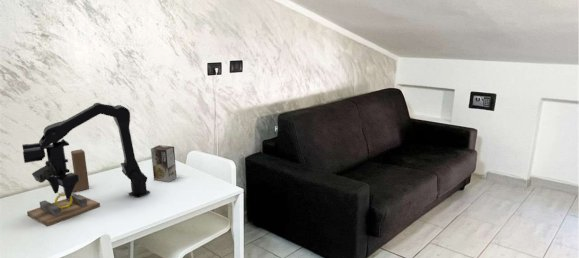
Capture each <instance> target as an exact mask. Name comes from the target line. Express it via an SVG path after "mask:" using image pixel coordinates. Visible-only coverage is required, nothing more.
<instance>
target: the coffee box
mask: <svg viewBox="0 0 579 258" xmlns="http://www.w3.org/2000/svg"><path fill="white" fill-rule="evenodd" d="M150 152H151V154H150V155H151V164H152V165H151V166H152V174H153V181H157V182H158V181H159V182H165V183H170V182H172V181H174V180H176V179H177V165H176V156H175V155H176V153H175V146H173V145H172V146H170V145H161V144H159V145H156V146H154V147H152V148H150Z"/></svg>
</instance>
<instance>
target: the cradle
mask: <svg viewBox="0 0 579 258" xmlns="http://www.w3.org/2000/svg"><path fill="white" fill-rule="evenodd" d="M71 196H72V199H73V201H72V203H71V205H70V206H69V207H65V208H62V209H61V208H60V207H62V206H66V205H68V204H69V203H70V198H68V199H67V198H66V197H65V198H64V199H60V200H57V205H58V206H59V207H58V206H56V205H55V201H54V202H52V203H51V202H50V201H48V200H42V201H39V207H37V208H35V209H34V208H33V209H31V210H27V212H26V214H27V216H28V217H29V218H32V219H34V220H36V221H38V222H39V223H41V224H43V225H44V226H46V227H50V226H52V225H55V224H58V223H61V222H63V221H66V220H68V219H71V218H73V217H77V216H79V215H81V214H84V213H87V212H90V211H92V210H95V209H98V208H100V207H101V204H100V202H99V201H96V200H94V199H91V198H89V197H86V196H84V195H81V194H79V193H78V194H77V193H75V192H73V193H72V194H71Z"/></svg>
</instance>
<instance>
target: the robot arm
mask: <svg viewBox="0 0 579 258" xmlns="http://www.w3.org/2000/svg"><path fill="white" fill-rule="evenodd" d="M99 115H104V116H108V117H112V118H113V120H114V122H115V124H116V126H117V128H118V132H119V138H120V142H121V148H122V153H123V154H122V155H123V158H124V161H123V162H121V163H120V166H121V169H122V170H121V172H122V174H124V175H125V177H127V178H128V179H129V180H130V186H131V188H130V189H131V192H128V195H130V196H133V197H135V198H140V197H142V196H144V195H147V194H150V193H151V191H150V190H147V189H148V188H147V182H148V177H147V176H146V175H145V173H144V172H142V170H141V169H140V165H139V163H138V161H137V159H136V156H135V151H134V147H133V141H132V140H133V139H132V135H131V131H130V124H131V113H130V110H129V109H128V108H127V107H126V106H123V105H121V104H118V105H115V106H114V105H110V104H104V103H100V102H95V103H93V104H92V105H91V106H89V107H87V108H85V109H84V110H81V111H80V112H78V113H76V114H75V115H72V116H71V117H69V118H67V119H65V120H62V121H57V122H55V123H52V124H49V125H46V127H44V129H43V135H42V136H41V138H40V139H39V141H38V142H37V143H30V144H29V143H26V144H25V143H24V144H23V143H22V145H21V146H22V154H23V161H24V164H27V163H34V162H41V161H43V159H45V158H46V156H47V160H45V163H44V165H45V166H42V167H40V168H39V169H37V170H35V171H34V172H32V173H31V175H32V177H33V178H34V180H35V181H36V182H38V183H40V184H41V183H44V182H45V181H47V182H48V183H49V185H50V187H51V189H52V191H53V193H54V194H59V191H60V190H59V189H60V187H62V189H63V192H65V195H66V196H65V199H66V198H67V199H68V198H70V196H71V194H72V191H73V189H74V187H75V185H76V183H77V182H78V181H79V176H78V175H77V174H74V172H70V169H68V168H67V163H69V160H68V159H67V158H66V156H65V155H66V153H65V147H67V146H70V143H69V142H68V141H67V140H65V139H64V138H65V137H66V136H67V135H68V134H69V133H70V132H71V131H73V130H74V129H75V128H77V127H79V126H81V125H82V124H85V123H86V122H88V121H90V120H92V119H93V118H94V117H97V116H99ZM45 149H46V152H45Z"/></svg>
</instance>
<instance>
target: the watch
mask: <svg viewBox="0 0 579 258" xmlns="http://www.w3.org/2000/svg"><path fill="white" fill-rule="evenodd" d="M61 197H66V195H65V192H64V191H63V192H60V193H59V192H58V195H56V198H55V199H54V202H55V205H56V206H58V205H57V201H59V198H61ZM72 201H73V199H72V196H70V203H69V204H68V205H66V206H62V207H60V208H61V209H62V208H65V207H69V206H70V205H71V203H72ZM58 207H59V206H58Z"/></svg>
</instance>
